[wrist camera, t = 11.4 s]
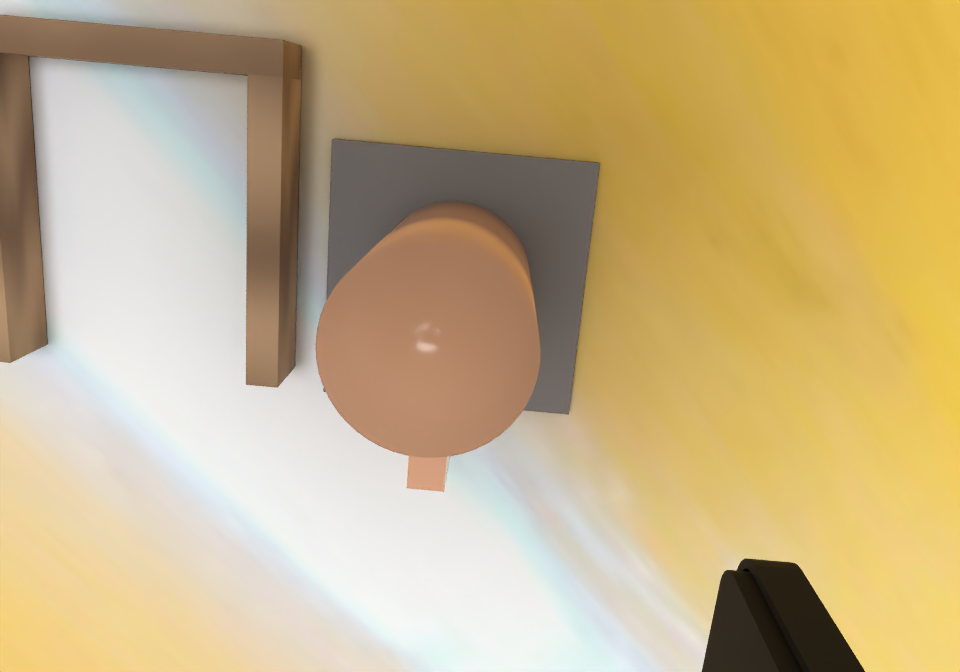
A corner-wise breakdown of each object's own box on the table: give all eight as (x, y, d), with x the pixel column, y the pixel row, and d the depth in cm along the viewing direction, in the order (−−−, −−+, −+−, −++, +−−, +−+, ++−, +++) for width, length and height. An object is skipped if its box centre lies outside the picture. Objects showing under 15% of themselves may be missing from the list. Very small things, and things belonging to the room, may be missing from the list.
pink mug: (380, 194, 30) (319, 231, 20) (538, 208, 30) (552, 253, 20) (369, 404, 32) (310, 527, 23) (516, 418, 32) (519, 547, 22)
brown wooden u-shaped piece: (-7, 18, 29) (-53, 10, 27) (301, 45, 29) (283, 39, 26) (18, 341, 32) (-21, 359, 30) (294, 367, 32) (277, 387, 30)
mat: (334, 138, 30) (331, 139, 29) (598, 162, 30) (600, 163, 29) (325, 388, 32) (323, 391, 32) (567, 410, 32) (568, 414, 32)
